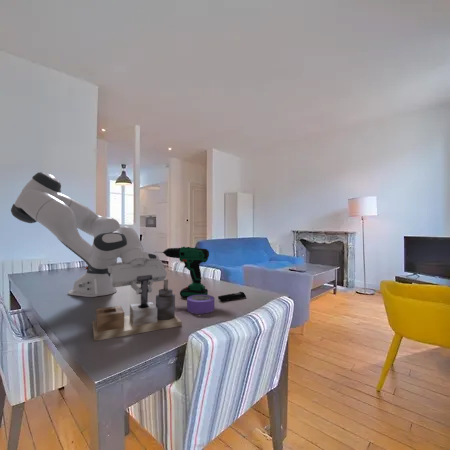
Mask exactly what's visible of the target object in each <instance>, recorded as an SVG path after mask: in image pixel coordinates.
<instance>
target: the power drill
mask: <svg viewBox="0 0 450 450" xmlns="http://www.w3.org/2000/svg"><path fill="white" fill-rule="evenodd" d="M156 253H161V254H163V255H165V257H167V258H173V259H179V261H180V262H181V263H182V262H183V263H184V267H183V268H184V269H187V270H188V271H189V275H190V277H191V281H192V283H190V284H189V285H187V287H184V288H182V289H181V290H180V291H179V296H180V297H181V298H185V299H187V298H188V297H189V296H192V295H209V294H208V291H209V290H208V289H207V288H206V286H205V285H204V284H203V283H202V273H201V268H200V264H202V263H207V262H208V259H209V258H210V257H209V256H210V251H209V250H208V249H206V248H201V247H197V246H195V247H191V246H187V247H186V246H181V247H172V248H171V247H170V248H167V249H165V250H164V251H156Z"/></svg>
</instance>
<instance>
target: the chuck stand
mask: <svg viewBox="0 0 450 450" xmlns="http://www.w3.org/2000/svg"><path fill="white" fill-rule="evenodd" d="M140 307H141V302H140V303H131V304H129V315H125V311H124V309H123V307H122V305H118V306H117V305H116V306H109V307H101V308H100V307H99V308H96V309H95V311H96V312H95V313H96V314H95V320H92V325H93V326H92V332H93V333H92V334H93V341H94V342H96V341H102V340H107V339H109V340H110V339H114V338H119V337H125V336H131V335H137V334H141V333H147V332H152V331H159V330H164V329H165V330H166V329H170V328H176V327H182V323H183V322H182V320H181V319H180V318H179V317H178V316H177V315H176V314H175V313H176V294H174V293H173V289H172V288H169V279H168V278H165V279H164V280H163V288H160V289H158V294H156V295H155V303H153V301H149V302H148V307H147V308H140Z"/></svg>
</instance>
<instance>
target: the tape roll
mask: <svg viewBox="0 0 450 450" xmlns="http://www.w3.org/2000/svg"><path fill="white" fill-rule="evenodd" d="M215 300H216V299H215V297H214V296H213V295H211V294H208V295H192V296H189V297H188V298H186V302H187V303H186V311H187V312H188V313H191V314H196V315H197V314H199V315H200V314H201V315H202V314H204V313H205V314H210V313H212V312H214V311H215V302H216V301H215ZM213 310H214V311H213ZM209 312H210V313H209ZM205 314H204V315H205Z"/></svg>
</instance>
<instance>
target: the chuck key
mask: <svg viewBox="0 0 450 450" xmlns="http://www.w3.org/2000/svg"><path fill="white" fill-rule="evenodd" d="M148 280H152V275H145V276H137V281H138V282H139V281H141V284H140V287H141V288H142V289H141V290H142V293H141V294H140V303H141V307H140V308H147V307H148V301H149V300H148V298H149V294H148V286H149V285H148Z"/></svg>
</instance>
